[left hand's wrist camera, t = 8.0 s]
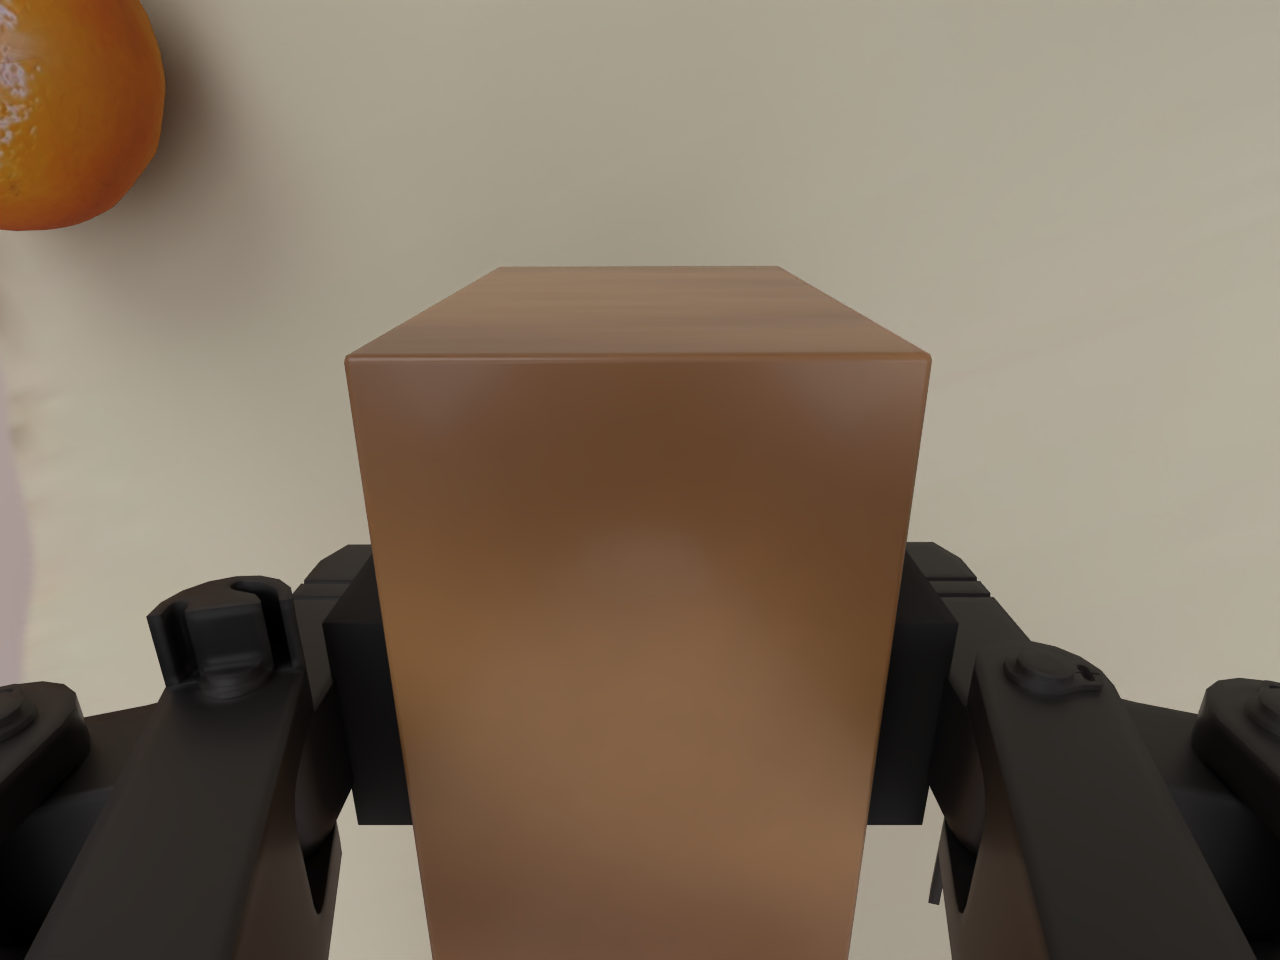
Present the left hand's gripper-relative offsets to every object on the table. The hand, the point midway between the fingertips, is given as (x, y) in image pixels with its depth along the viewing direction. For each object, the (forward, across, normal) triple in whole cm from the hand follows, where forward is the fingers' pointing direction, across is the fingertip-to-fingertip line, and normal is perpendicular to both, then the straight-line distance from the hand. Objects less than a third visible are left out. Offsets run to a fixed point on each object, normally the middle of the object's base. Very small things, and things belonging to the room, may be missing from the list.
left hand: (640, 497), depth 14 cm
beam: (+1, 0, -28) cm, 28 cm away
